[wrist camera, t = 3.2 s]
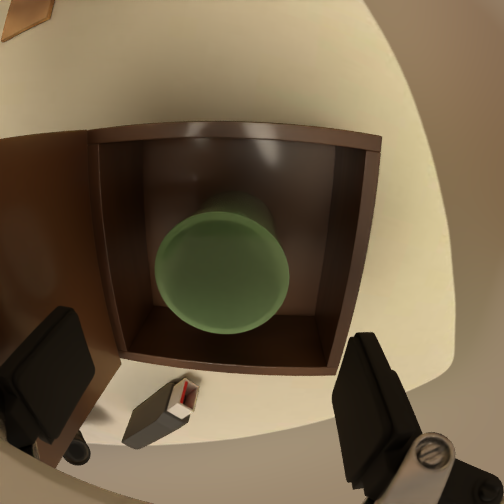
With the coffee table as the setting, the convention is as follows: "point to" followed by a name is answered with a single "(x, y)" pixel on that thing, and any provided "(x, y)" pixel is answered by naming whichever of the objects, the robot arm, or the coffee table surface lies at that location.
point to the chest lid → (51, 257)
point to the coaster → (25, 16)
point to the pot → (224, 265)
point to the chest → (287, 221)
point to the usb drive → (161, 414)
